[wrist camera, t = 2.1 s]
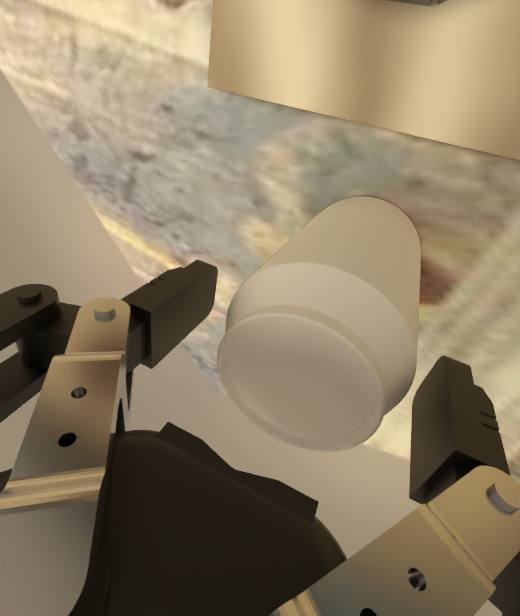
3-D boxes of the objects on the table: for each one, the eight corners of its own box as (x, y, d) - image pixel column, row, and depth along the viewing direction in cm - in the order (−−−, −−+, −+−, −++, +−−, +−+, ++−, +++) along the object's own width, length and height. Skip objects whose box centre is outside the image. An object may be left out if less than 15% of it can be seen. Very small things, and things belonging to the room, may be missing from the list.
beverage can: (442, 208, 16) (464, 346, 6) (396, 311, 19) (367, 497, 10) (321, 180, 18) (199, 257, 8) (299, 279, 21) (195, 414, 12)
